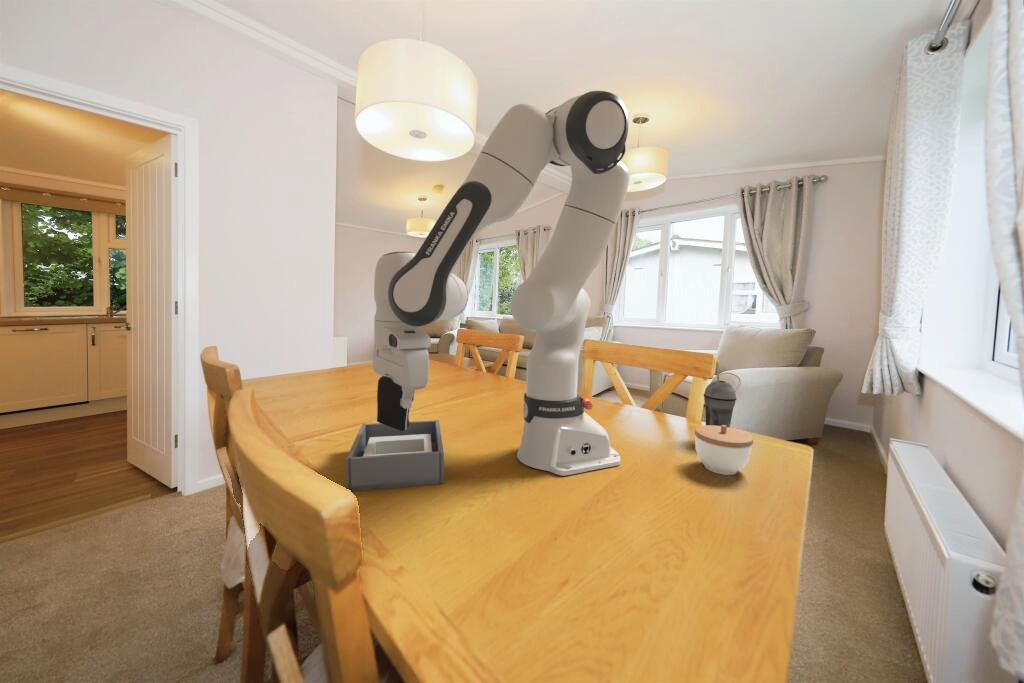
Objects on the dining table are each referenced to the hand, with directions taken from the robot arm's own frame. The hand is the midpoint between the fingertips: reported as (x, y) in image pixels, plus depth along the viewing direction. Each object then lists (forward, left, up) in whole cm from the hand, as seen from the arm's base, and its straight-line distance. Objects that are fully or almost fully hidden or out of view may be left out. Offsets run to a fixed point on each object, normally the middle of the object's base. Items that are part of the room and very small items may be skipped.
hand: (397, 402), depth 79 cm
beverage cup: (-77, 0, -14) cm, 78 cm away
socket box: (0, 0, -13) cm, 13 cm away
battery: (+1, -3, -5) cm, 6 cm away
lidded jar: (-66, +14, -14) cm, 69 cm away
